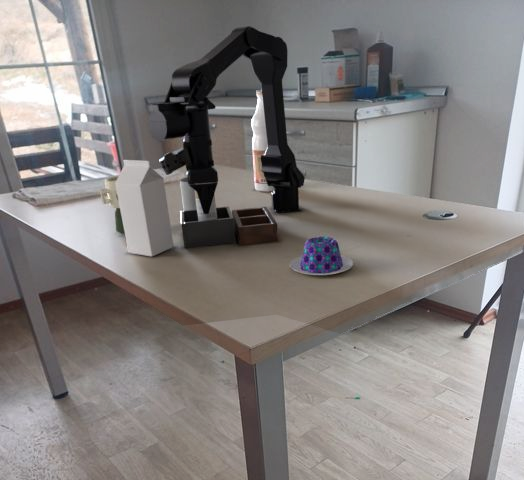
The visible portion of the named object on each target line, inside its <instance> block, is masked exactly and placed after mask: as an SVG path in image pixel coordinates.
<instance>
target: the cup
mask: <svg viewBox="0 0 524 480" xmlns="http://www.w3.org/2000/svg"><path fill="white" fill-rule="evenodd" d="M179 185H180V193H181V200H182V201H181V202H182V208H183V211H186V210H197V205H196V195H195V190H194V189H193V188H192V187H190V186H189V184H188V178H187V176H186V177H183V178H181V179H179ZM214 196H215V194H214ZM215 197H216V196H215Z"/></svg>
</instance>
